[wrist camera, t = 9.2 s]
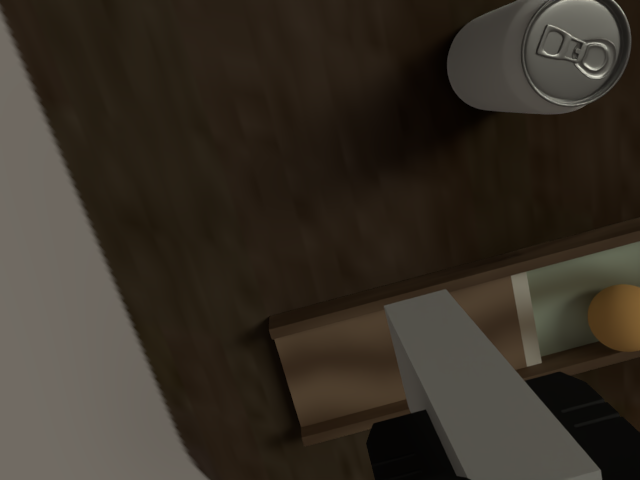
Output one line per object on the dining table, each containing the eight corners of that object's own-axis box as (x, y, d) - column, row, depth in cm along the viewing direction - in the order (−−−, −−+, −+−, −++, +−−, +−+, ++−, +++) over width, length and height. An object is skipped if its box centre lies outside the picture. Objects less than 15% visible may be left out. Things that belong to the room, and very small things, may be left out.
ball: (653, 306, 38) (662, 270, 41) (574, 306, 41) (589, 273, 45) (664, 368, 39) (672, 328, 43) (588, 363, 42) (600, 326, 46)
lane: (269, 316, 43) (267, 344, 38) (723, 194, 43) (779, 207, 38) (303, 427, 46) (305, 466, 41) (731, 312, 46) (785, 338, 41)
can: (515, 121, 41) (608, 131, 29) (431, 94, 40) (494, 93, 28) (548, 31, 39) (661, 3, 28) (463, 1, 38) (542, -41, 27)
